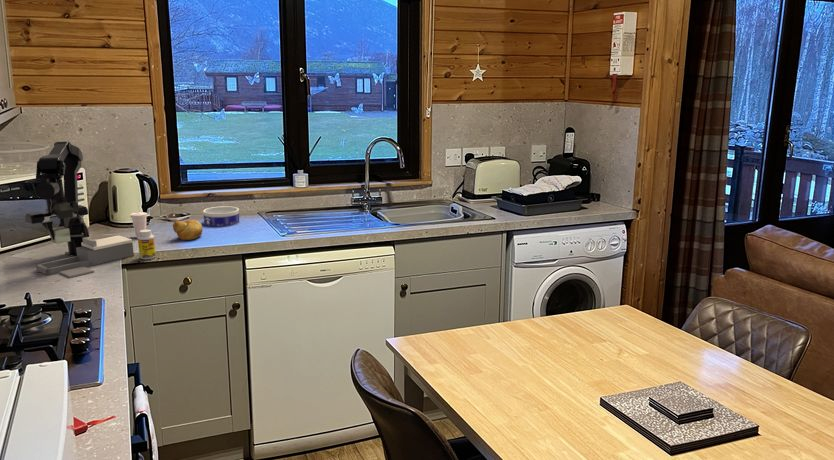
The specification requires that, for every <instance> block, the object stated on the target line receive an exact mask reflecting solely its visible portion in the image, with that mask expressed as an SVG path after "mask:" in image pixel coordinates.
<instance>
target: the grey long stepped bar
mask: <svg viewBox="0 0 834 460" xmlns="http://www.w3.org/2000/svg"><path fill="white" fill-rule="evenodd" d="M76 251H77V256H70V257H66V258H61V259H56V260H52V261H47V262H46V261H45V262H42V263H38V264H35V268H36V271H37V272H40V273H41V274H44V275H46V276H51V275H54V274H60V271H65V270H69V269H74V268H78V267H83V266H84V267H86V268H87V267H90V266H94V265H99V264H103V263H107V262H113V261H118V260H121V259H126V258H129V257H134V254H135V253H134V252H135V251H134V244H133V241H132V242H131V243H127V244H122V245H117V246H112V247H108V248H103V249H98V250H92V249H90V248H87V247H84V246H83V247H78V248H76Z"/></svg>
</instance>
